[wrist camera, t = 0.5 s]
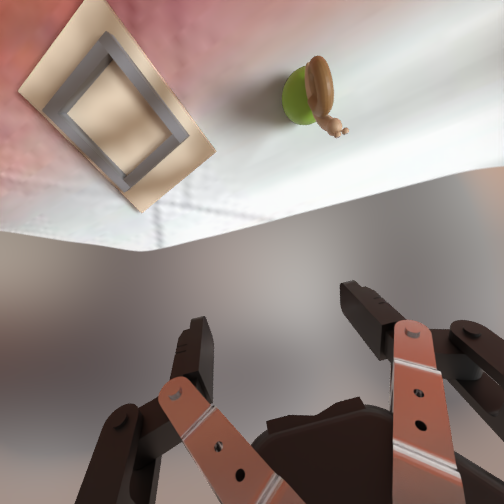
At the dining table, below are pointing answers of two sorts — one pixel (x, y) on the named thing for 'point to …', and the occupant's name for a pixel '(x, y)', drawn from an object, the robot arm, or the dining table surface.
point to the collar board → (116, 106)
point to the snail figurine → (312, 97)
